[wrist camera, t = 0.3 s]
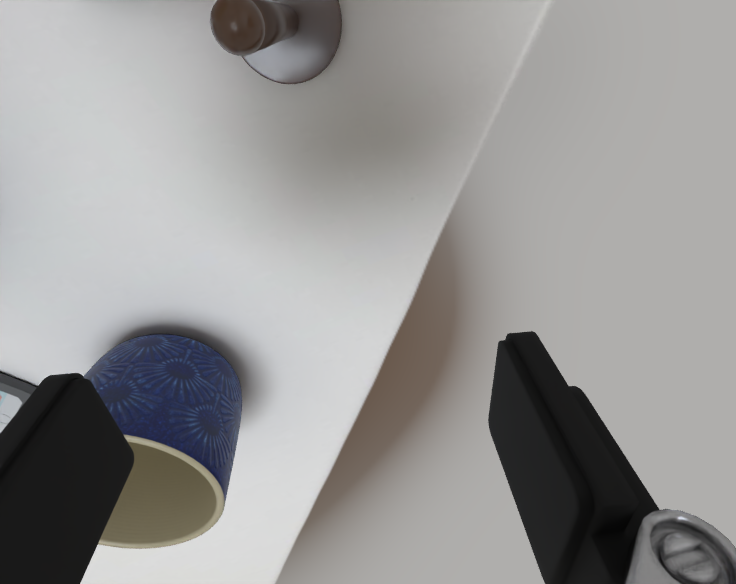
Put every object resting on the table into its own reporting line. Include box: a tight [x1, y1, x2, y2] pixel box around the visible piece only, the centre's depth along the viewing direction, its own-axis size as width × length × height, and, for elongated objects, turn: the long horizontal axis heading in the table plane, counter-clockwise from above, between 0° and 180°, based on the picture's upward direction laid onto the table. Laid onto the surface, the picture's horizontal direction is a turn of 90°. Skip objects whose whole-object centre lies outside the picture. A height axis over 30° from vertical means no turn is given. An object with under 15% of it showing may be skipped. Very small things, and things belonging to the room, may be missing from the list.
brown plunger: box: [210, 0, 342, 84], centre depth 17 cm, size 6×6×14 cm
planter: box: [83, 334, 242, 549], centre depth 31 cm, size 12×12×11 cm
